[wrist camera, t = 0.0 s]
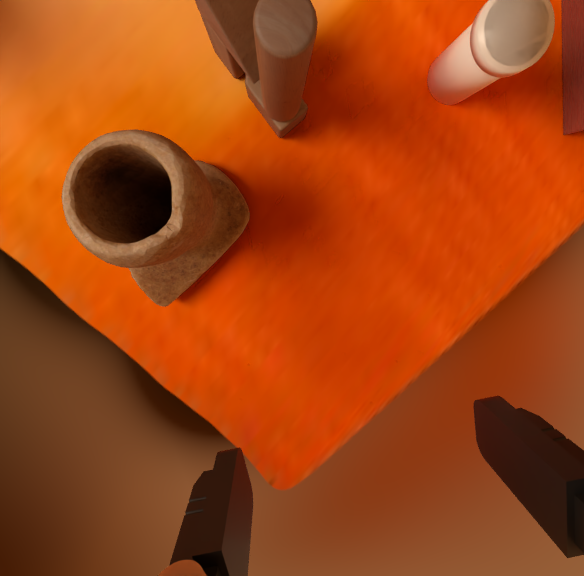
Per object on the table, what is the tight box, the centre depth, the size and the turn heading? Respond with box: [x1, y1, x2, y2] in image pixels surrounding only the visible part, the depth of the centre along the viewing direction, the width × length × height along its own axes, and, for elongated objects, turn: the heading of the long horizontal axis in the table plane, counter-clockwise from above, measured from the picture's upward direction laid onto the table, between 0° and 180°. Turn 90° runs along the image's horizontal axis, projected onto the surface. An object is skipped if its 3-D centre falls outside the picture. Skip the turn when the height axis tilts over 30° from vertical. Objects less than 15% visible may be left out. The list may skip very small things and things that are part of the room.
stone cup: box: [62, 130, 250, 306], centre depth 31 cm, size 15×12×15 cm
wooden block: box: [195, 0, 317, 138], centre depth 26 cm, size 4×11×18 cm, turn 39°
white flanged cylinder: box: [427, 0, 555, 105], centre depth 31 cm, size 6×6×10 cm
